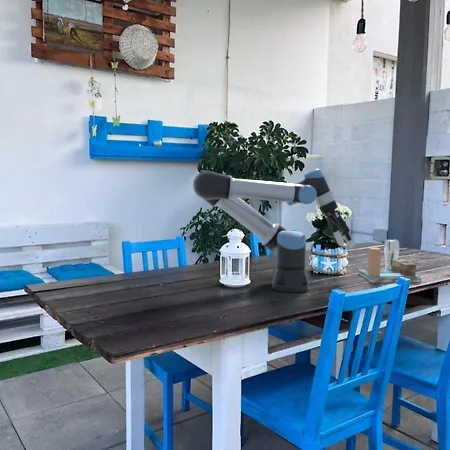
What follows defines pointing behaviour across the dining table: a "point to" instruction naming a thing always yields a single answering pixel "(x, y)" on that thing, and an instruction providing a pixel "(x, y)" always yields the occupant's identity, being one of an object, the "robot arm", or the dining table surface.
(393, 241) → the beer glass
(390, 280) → the lane board
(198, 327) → the dining table surface
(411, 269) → the walnut block
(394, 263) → the oak block
